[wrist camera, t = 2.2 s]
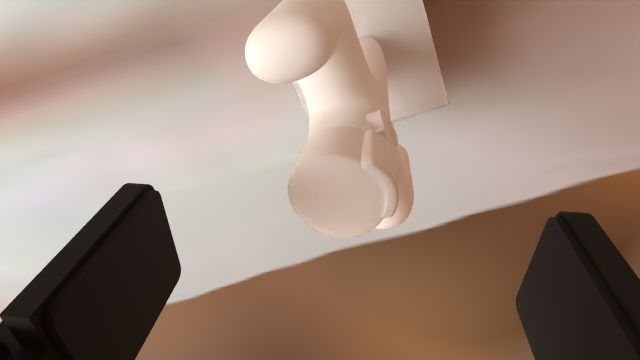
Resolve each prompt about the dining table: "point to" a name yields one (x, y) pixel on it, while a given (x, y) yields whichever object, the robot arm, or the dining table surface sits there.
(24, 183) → the dining table surface
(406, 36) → the figurine
